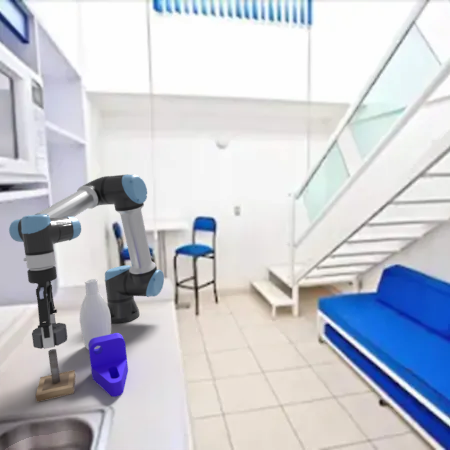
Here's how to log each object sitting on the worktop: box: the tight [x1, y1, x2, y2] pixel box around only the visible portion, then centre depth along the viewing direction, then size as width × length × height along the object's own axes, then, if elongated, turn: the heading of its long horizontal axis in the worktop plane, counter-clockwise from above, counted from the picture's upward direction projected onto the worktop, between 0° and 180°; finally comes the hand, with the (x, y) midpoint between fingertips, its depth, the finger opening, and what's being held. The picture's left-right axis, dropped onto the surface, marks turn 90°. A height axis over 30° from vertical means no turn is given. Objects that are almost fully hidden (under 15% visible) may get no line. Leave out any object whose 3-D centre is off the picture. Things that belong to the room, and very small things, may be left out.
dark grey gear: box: [31, 322, 68, 350], centre depth 112 cm, size 9×9×4 cm
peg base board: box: [35, 348, 76, 403], centre depth 113 cm, size 11×10×12 cm
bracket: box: [88, 332, 129, 398], centre depth 115 cm, size 18×11×12 cm, turn 25°
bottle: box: [79, 278, 112, 351], centre depth 141 cm, size 11×11×25 cm
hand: (50, 340), depth 112 cm, fingers closed on dark grey gear, 9 cm apart
